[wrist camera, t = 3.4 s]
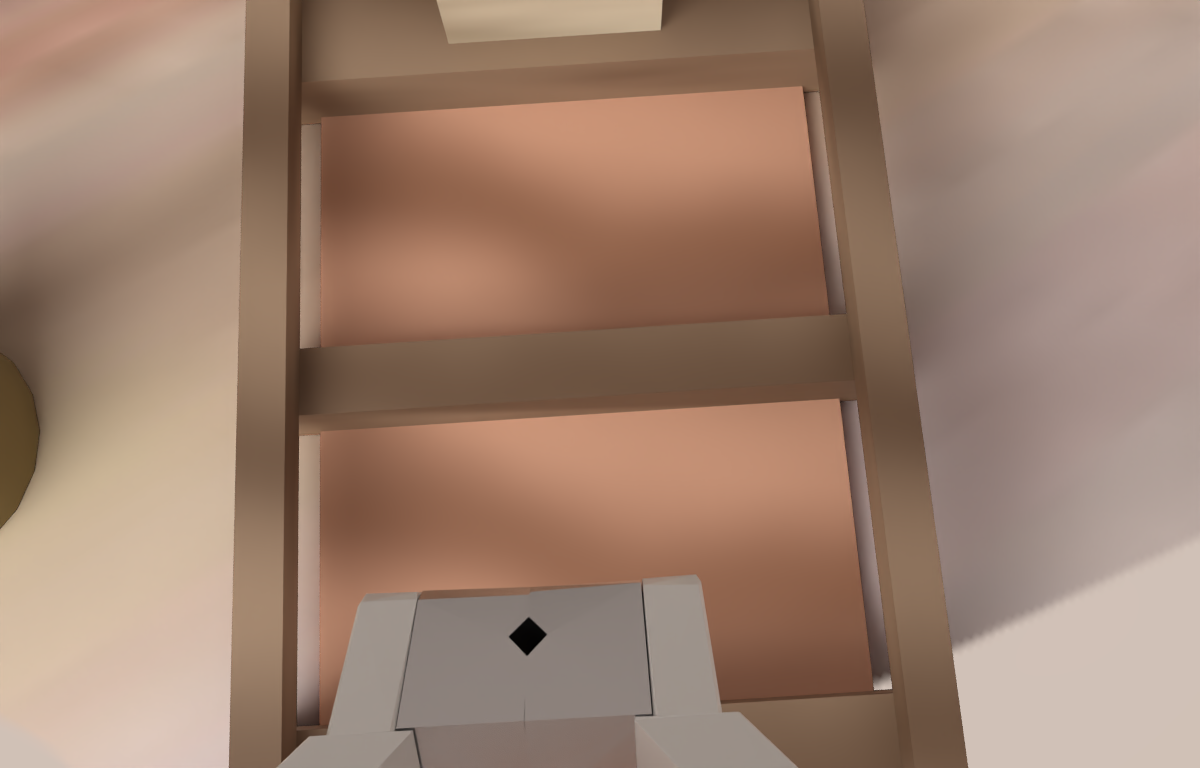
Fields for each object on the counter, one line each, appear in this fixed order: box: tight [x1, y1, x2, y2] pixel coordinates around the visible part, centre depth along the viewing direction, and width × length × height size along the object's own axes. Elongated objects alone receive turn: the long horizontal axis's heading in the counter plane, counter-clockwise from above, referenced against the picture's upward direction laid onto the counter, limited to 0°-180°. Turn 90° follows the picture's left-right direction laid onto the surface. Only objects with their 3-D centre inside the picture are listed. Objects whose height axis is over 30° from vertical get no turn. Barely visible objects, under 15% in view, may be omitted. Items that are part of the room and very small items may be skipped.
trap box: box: [229, 0, 968, 768], centre depth 24 cm, size 30×14×6 cm, turn 3°
